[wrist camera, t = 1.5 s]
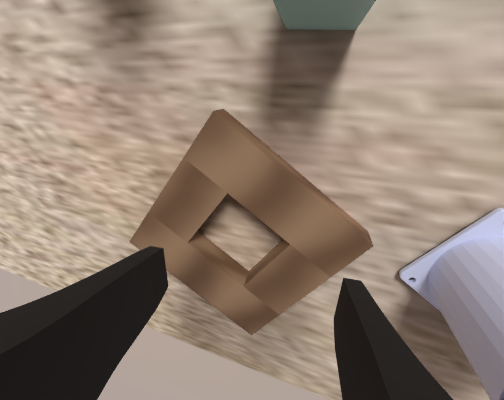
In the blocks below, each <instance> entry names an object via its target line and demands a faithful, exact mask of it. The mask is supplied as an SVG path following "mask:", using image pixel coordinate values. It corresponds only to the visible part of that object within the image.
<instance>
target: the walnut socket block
mask: <svg viewBox="0 0 504 400" xmlns="http://www.w3.org/2000/svg"><path fill="white" fill-rule="evenodd" d="M227 194H229V195H230V196H231V197H233V198H234V199H235V200H236V201H238V202H239V203H240V204H241V205H242V206H244V207H245V208H246V209H247V210H249V211H250V212H251V213H252V214H254V215H255V216H256V217H257V218H258V219H260V220H261V221H262V222H263V223H265V224H266V225H267V226H268V227H269V228H271V229H272V230H273V231H274V232H276V233H277V234H278V235H279V236H281V237H282V238H283V240H282V241H281V242H280V243H279V244H278V245H277V246H276V247H275V248H274V249H273V250H272V251H270V252H269V253H268V254H267V255H266V256H265V257H264V258H263V259H262V260H261V261H260V262H259V263H257V264H256V265H255V266H254V267H253V268H252V269H251V270H250V271H248V270H246V269H245V268H244V267H243V266H241V265H240V264H239V263H238V262H236V261H235V260H234V259H232V258H231V257H230V256H229V255H227V254H226V253H225V252H224V251H222V250H221V249H220V248H219V247H217V246H216V245H215V244H213V243H212V242H211V241H210V240H208V239H207V238H206V237H205V236H203V235H202V234H201V233H200V232H198V231H197V230H198V229H199V228H200V227H201V226H202V224H203V223H204V222H205V221H206V219H207V218H208V217H209V216H210V215H211V213H212V212H213V211H214V210H215V208H216V207H217V206H218V205H219V203H220V202H221V201H222V200H223V199H224V197H225V196H226V195H227ZM130 243H132V244H133V245H134V246H136V247H137V248H138V249H140V250H142V249H144V248H147V247H149V246H154V247H160V248H164V256H165V264H166V270H167V271H168V272H170V273H171V274H172V275H174V276H175V277H176V278H178V279H179V280H180V281H182V282H183V283H184V284H186V285H187V286H188V287H189V288H191V289H192V290H193V291H195V292H196V293H197V294H199V295H200V296H201V297H203V298H204V299H205V300H206V301H208V302H209V303H210V304H212V305H213V306H214V307H216V308H217V309H218V310H220V311H221V312H222V313H223V314H225V315H226V316H227V317H229V318H230V319H231V320H233V321H234V322H235V323H237V324H238V325H239V326H241V327H242V328H243V329H244V330H246V331H247V332H248V333H250V334H251V335H252V334H254V333H255V332H256V331H258V330H259V329H260V328H262V327H263V326H264V325H266V324H267V323H269V322H270V321H271V320H273V319H274V318H275V317H277V316H278V315H280V314H281V313H282V312H284V311H285V310H286V309H288V308H289V307H290V306H292V305H293V304H295V303H296V302H297V301H299V300H300V299H301V298H303V297H304V296H306V295H307V294H308V293H310V292H311V291H312V290H314V289H315V288H317V287H318V286H319V285H321V284H322V283H323V282H325V281H326V280H327V279H329V278H330V277H332V276H333V275H334V274H336V273H337V272H338V271H340V270H341V269H343V268H344V267H345V266H347V265H348V264H349V263H351V262H352V261H353V260H355V259H356V258H358V257H359V256H360V255H362V254H363V253H364V252H366V251H367V250H369V249H370V248H371V247H373V244H372V241H371V238H370V236H369V233H368V231H367V230H366V229H364V228H363V227H362V226H361V225H360V224H359V223H357V222H356V221H355V220H354V219H353V218H352V217H350V216H349V215H348V214H347V213H346V212H344V211H343V210H342V209H341V208H340V207H339V206H337V205H336V204H335V203H334V202H333V201H331V200H330V199H329V198H328V197H327V196H326V195H324V194H323V193H322V192H321V191H320V190H319V189H317V188H316V187H315V186H314V185H313V184H311V183H310V182H309V181H308V180H307V179H306V178H304V177H303V176H302V175H301V174H300V173H298V172H297V171H296V170H295V169H294V168H293V167H291V166H290V165H289V164H288V163H287V162H286V161H284V160H283V159H282V158H281V157H280V156H278V155H277V154H276V153H275V152H274V151H273V150H271V149H270V148H269V147H268V146H267V145H266V144H264V143H263V142H262V141H261V140H260V139H258V138H257V137H256V136H255V135H254V134H253V133H251V132H250V131H249V130H248V129H247V128H245V127H244V126H243V125H242V124H241V123H240V122H238V121H237V120H236V119H235V118H234V117H233V116H231V115H230V114H229V113H228V112H227V111H225V110H224V109H221V110H216V111H213V113H212V114H211V116H210V117H209V119H208V120H207V122H206V123H205V125H204V127H203V128H202V130H201V131H200V133H199V134H198V136H197V137H196V139H195V141H194V142H193V144H192V145H191V147H190V148H189V150H188V151H187V153H186V155H185V156H184V158H183V159H182V161H181V162H180V164H179V165H178V167H177V169H176V170H175V172H174V173H173V175H172V176H171V178H170V179H169V181H168V183H167V184H166V186H165V187H164V189H163V190H162V192H161V193H160V195H159V197H158V198H157V200H156V201H155V203H154V204H153V206H152V207H151V209H150V211H149V212H148V214H147V215H146V217H145V218H144V220H143V221H142V223H141V225H140V226H139V228H138V229H137V231H136V232H135V234H134V235H133V237H132V239H131V240H130Z"/></svg>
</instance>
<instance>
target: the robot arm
mask: <svg viewBox="0 0 504 400" xmlns="http://www.w3.org/2000/svg"><path fill="white" fill-rule="evenodd" d="M503 222H504V208H497V209H495V210H493V211H492V212H490V213H489V214H487V215H485V216H484V217H482V218H481V219H479V220H478V221H476V222H475V223H473V224H471V225H470V226H468V227H467V228H465V229H464V230H462V231H461V232H459V233H457V234H456V235H454V236H453V237H451V238H450V239H448V240H446V241H445V242H443V243H442V244H440V245H439V246H437V247H436V248H434V249H432V250H431V251H429V252H428V253H426V254H425V255H423V256H422V257H420V258H418V259H417V260H415V261H414V262H412V263H411V264H409V265H407V266H406V267H404V268H403V269H401V270H400V271H399V276H400V278H401V279H402V280H403V281H404V282H405V283H407V284H408V285H409V286H410V287H411V288H413V289H414V290H415V291H416V292H417V293H418V294H420V295H421V296H422V297H423V298H424V299H426V300H427V301H428V302H429V303H430V304H432V305H433V306H434V307H435V308H436V309H438V310H439V311H440V312H441V313H442V315H443V317H444V318H445V320H446V322H447V324H448V325H449V327H450V329H451V331H452V333H453V334H454V336H455V338H456V340H457V341H458V343H459V345H460V347H461V348H462V350H463V352H464V354H465V355H466V357H467V359H468V361H469V362H470V364H471V366H472V368H473V370H474V371H475V373H476V375H477V377H478V378H479V380H480V382H481V384H482V385H483V387H484V389H485V391H486V392H487V394H488V396H489V398H490V400H504V223H503ZM409 278H414V279H412V280H409ZM167 288H168V280H167V272H166V264H165V256H164V248H160V247H154V246H149V247H147V248H144V249H142V250H140V251H138V252H136V253H134V254H132V255H130V256H128V257H127V258H125V259H123V260H121V261H119V262H117V263H115V264H113V265H111V266H109V267H107V268H105V269H103V270H101V271H99V272H97V273H95V274H93V275H91V276H89V277H87V278H85V279H83V280H81V281H79V282H76V283H74V284H72V285H70V286H68V287H66V288H64V289H61V290H59V291H57V292H54V293H52V294H50V295H47V296H45V297H43V298H40V299H38V300H35V301H32V302H30V303H27V304H25V305H22V306H19V307H16V308H14V309H11V310H8V311H5V312H2V313H0V400H97V399H98V397H99V395H100V394H101V392H102V390H103V388H104V387H105V385H106V383H107V382H108V380H109V378H110V376H111V375H112V373H113V371H114V370H115V368H116V367H117V365H118V364H119V362H120V361H121V359H122V358H123V356H124V355H125V354H126V352H127V350H128V349H129V348H130V346H131V345H132V343H133V342H134V341H135V339H136V337H137V336H138V335H139V333H140V332H141V331H142V329H143V328H144V326H145V325H146V323H147V322H148V321H149V319H150V318H151V316H152V315H153V313H154V312H155V310H156V309H157V307H158V305H159V303H160V301H161V300H162V298H163V296H164V294H165V292H166V290H167ZM334 338H335V351H336V358H337V365H338V372H339V378H340V385H341V392H342V398H343V400H453V399H452V398H451V397H450V396H449V394H448V393H447V392H446V391H445V390H444V389H443V388H442V387H441V386H440V385H439V383H438V382H437V381H436V380H435V379H434V378H433V377H432V376H431V374H430V373H429V372H428V371H427V370H426V368H425V367H424V366H423V365H422V364H421V362H420V361H419V360H418V359H417V357H416V356H415V355H414V354H413V352H412V351H411V350H410V349H409V347H408V346H407V345H406V344H405V342H404V341H403V340H402V338H401V337H400V336H399V334H398V333H397V332H396V330H395V329H394V328H393V326H392V325H391V323H390V322H389V321H388V319H387V318H386V317H385V315H384V314H383V312H382V311H381V309H380V308H379V306H378V305H377V304H376V302H375V301H374V299H373V298H372V296H371V295H370V293H369V292H368V290H367V289H366V287H365V286H364V284H363V283H362V282H361V281H359V280H353V279H347V278H343V282H342V286H341V290H340V295H339V299H338V303H337V307H336V311H335V315H334Z"/></svg>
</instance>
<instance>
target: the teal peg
mask: <svg viewBox="0 0 504 400" xmlns="http://www.w3.org/2000/svg"><path fill="white" fill-rule="evenodd" d="M375 1H376V0H273V2H274V4H275V6H276V8H277V10H278V12H279V14H280V16H281V19H282V21H283V23H284V25H285V27H286V29H297V30H356V29H357V28H358V26H359V25H360V23H361V22H362V20H363V19H364V17H365V16H366V14H367V13H368V11H369V10H370V8H371V7H372V5H373V4H374V2H375Z"/></svg>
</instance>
